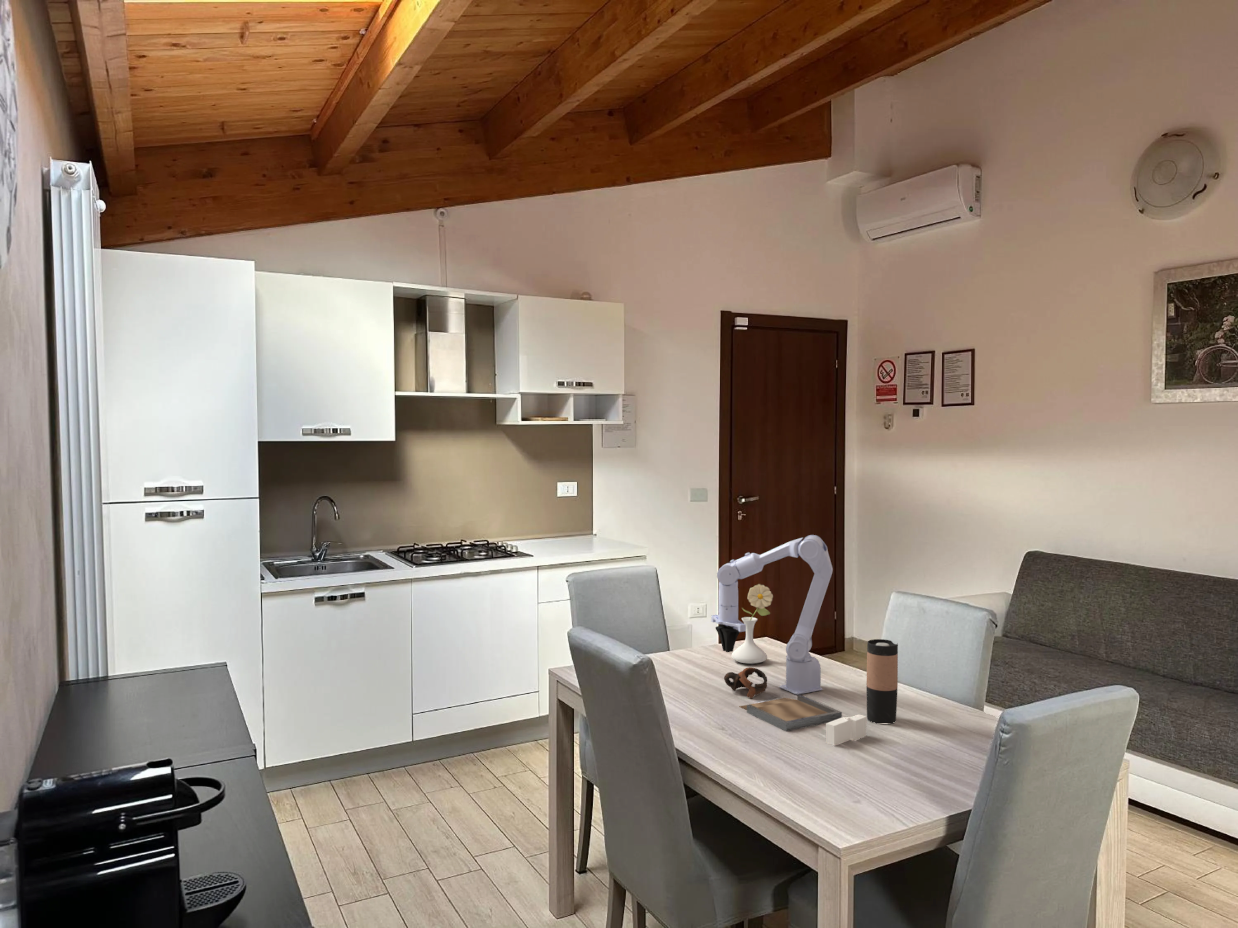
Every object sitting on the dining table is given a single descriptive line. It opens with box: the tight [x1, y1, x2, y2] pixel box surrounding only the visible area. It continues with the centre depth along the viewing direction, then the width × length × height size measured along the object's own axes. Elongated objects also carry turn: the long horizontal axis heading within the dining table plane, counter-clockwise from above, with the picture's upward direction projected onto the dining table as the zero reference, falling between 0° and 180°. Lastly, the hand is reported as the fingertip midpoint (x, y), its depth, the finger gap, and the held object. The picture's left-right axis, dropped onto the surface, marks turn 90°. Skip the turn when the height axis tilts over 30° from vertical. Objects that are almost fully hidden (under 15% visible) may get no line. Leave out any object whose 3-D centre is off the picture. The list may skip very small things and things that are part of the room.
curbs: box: [746, 694, 843, 732], centre depth 229 cm, size 18×16×2 cm
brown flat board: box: [738, 697, 827, 721], centre depth 232 cm, size 16×20×2 cm
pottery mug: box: [723, 666, 768, 699], centre depth 248 cm, size 12×10×8 cm
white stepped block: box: [825, 713, 868, 747], centre depth 212 cm, size 15×11×6 cm
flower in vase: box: [730, 583, 774, 664], centre depth 280 cm, size 13×11×25 cm
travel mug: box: [865, 638, 899, 724], centre depth 226 cm, size 8×8×20 cm
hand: (728, 650), depth 258 cm, fingers closed
